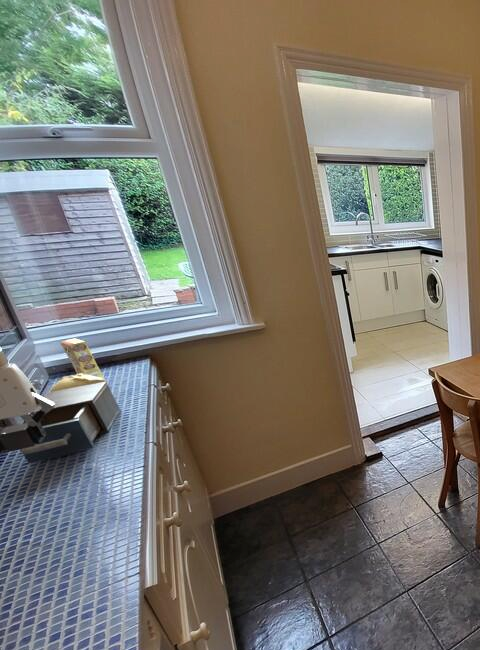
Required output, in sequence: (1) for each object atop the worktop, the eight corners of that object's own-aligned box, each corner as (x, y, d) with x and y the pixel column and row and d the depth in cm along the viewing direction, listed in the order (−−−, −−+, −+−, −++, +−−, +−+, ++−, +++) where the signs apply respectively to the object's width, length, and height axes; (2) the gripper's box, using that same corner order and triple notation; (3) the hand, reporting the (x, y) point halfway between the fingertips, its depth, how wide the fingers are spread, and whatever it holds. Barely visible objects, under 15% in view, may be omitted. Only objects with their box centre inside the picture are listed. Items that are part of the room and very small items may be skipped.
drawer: (87, 457, 97) (71, 429, 94) (20, 474, 92) (0, 445, 89) (107, 425, 112) (93, 399, 108) (49, 438, 107) (33, 411, 103)
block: (7, 452, 84) (-3, 435, 82) (15, 443, 87) (6, 426, 85) (34, 446, 86) (25, 429, 84) (42, 437, 89) (32, 421, 87)
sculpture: (123, 400, 128) (107, 368, 124) (80, 419, 118) (62, 385, 113) (94, 398, 130) (77, 367, 126) (49, 417, 120) (29, 383, 115)
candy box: (107, 382, 142) (86, 340, 136) (91, 387, 139) (69, 344, 133) (96, 378, 146) (75, 337, 140) (81, 383, 143) (58, 341, 137)
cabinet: (108, 431, 110) (91, 400, 106) (44, 446, 104) (23, 414, 100) (120, 410, 122) (106, 381, 118) (63, 423, 116) (45, 393, 112)
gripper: (-104, 379, 72) (-44, 465, 79) (30, 360, 80) (73, 440, 87) (-78, 366, 78) (-25, 448, 85) (44, 349, 86) (83, 425, 93)
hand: (24, 443), depth 86 cm, fingers closed on block, 4 cm apart
